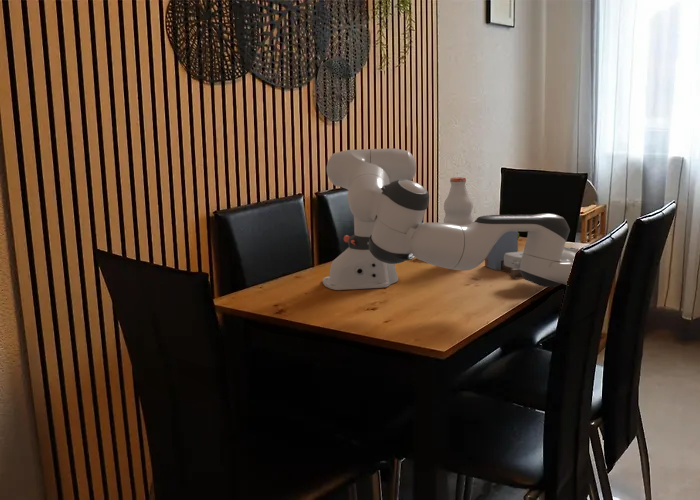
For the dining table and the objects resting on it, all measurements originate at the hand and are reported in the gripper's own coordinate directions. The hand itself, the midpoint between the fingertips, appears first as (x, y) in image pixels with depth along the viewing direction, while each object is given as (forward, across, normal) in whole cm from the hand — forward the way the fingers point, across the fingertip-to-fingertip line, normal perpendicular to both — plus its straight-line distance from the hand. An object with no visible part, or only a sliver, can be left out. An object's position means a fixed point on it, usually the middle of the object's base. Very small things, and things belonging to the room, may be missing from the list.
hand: (525, 252), depth 206 cm
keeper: (+14, 0, -7) cm, 16 cm away
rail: (+10, 0, -7) cm, 12 cm away
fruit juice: (+25, -10, -8) cm, 28 cm away
